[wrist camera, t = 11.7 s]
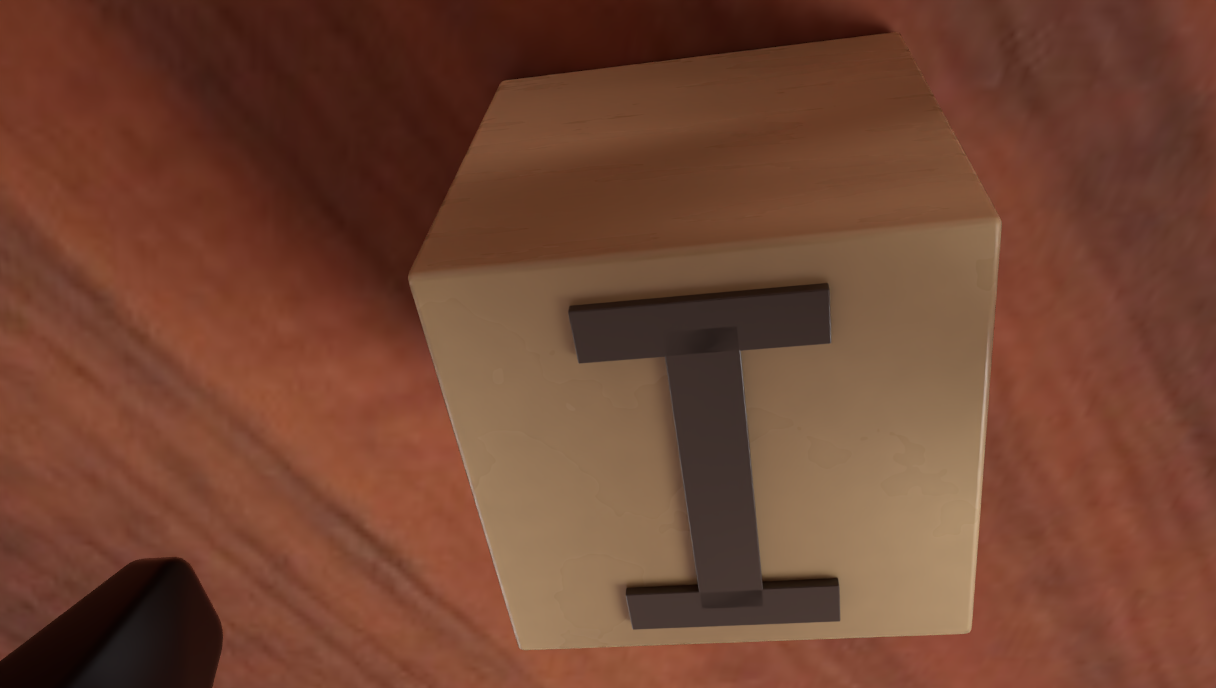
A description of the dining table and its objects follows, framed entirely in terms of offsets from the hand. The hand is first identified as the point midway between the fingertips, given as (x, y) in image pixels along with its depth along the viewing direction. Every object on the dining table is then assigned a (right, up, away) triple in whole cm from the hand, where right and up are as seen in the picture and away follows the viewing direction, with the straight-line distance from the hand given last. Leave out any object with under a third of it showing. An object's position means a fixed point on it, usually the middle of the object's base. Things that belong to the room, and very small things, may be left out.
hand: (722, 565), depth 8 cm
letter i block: (0, +3, +4) cm, 6 cm away
